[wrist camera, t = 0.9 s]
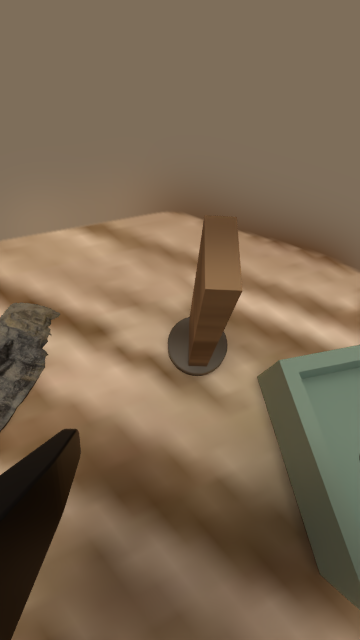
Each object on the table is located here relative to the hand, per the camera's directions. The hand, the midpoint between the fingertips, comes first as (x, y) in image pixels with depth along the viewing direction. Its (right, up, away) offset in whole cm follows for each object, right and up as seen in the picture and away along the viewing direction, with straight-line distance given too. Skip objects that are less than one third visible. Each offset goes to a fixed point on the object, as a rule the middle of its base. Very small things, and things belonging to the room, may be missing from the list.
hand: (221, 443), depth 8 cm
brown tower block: (0, +1, +15) cm, 15 cm away
